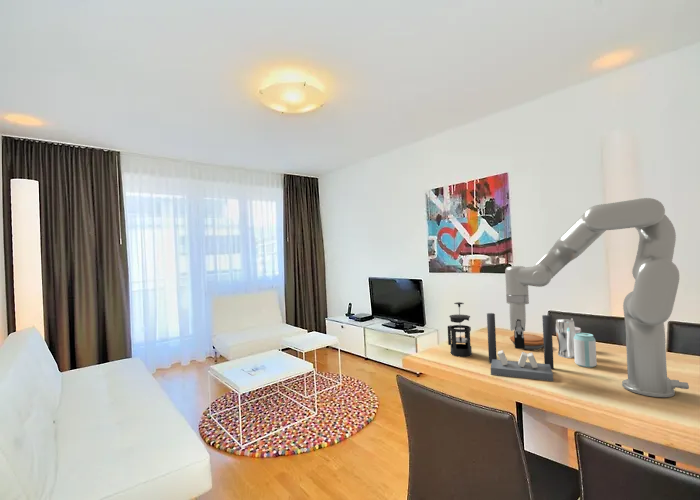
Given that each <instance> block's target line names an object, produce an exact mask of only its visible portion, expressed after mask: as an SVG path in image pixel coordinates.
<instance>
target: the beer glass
mask: <svg viewBox="0 0 700 500" xmlns="http://www.w3.org/2000/svg"><path fill="white" fill-rule="evenodd" d="M575 327H576V325H575V321H574V319H573V320H571V319H568V318H562V319H561V318H557V319H555V334H556V339H557V343H558V352H557V356H559V357H561V358H567V359H575V357H574V349H573V347H574V336H575Z"/></svg>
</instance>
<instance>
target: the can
mask: <svg viewBox="0 0 700 500" xmlns="http://www.w3.org/2000/svg"><path fill="white" fill-rule="evenodd" d="M596 342H597V341H596V338H595V337H594V334H592V333H590V332H589V333H587V332H580V333H576V335H575V336H574V363H575V364H576V365H577V366H579V367H583V368H588V369H589V368H590V369H591V368H594V367H596V366H598V365H597V364H598V363H597V343H596Z"/></svg>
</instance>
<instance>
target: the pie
mask: <svg viewBox="0 0 700 500" xmlns="http://www.w3.org/2000/svg"><path fill="white" fill-rule="evenodd" d="M523 334H524V344H525V349H524V350H528V351H537V350H541V349H543V348H544V341H543V337H542V336H540V335H536V334H530V333H523ZM509 340H510V341H511V342H512V344H513V345H514V346H515V341H514V335H512V336H510V337H509Z"/></svg>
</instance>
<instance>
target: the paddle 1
mask: <svg viewBox="0 0 700 500" xmlns="http://www.w3.org/2000/svg"><path fill="white" fill-rule="evenodd" d="M497 356H498V358H499V360H500V361H501V363H502V365H507V364H508V361H509V360H508V359H507V357H506V354H505V352H504V350H503V349H502V350H498V351H497ZM507 360H508V361H507Z"/></svg>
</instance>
